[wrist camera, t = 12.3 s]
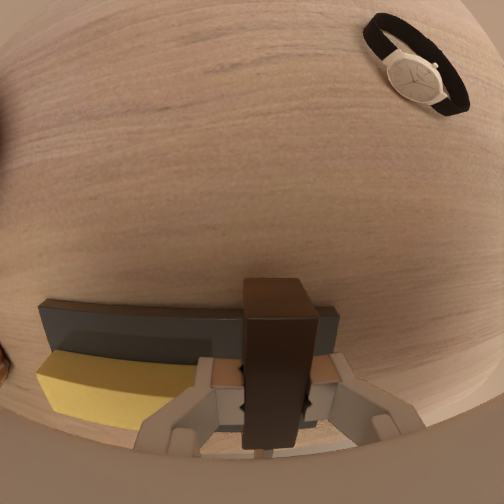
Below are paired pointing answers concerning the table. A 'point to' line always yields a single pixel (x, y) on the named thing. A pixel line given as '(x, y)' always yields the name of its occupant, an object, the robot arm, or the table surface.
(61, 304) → the butter dish
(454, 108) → the watch
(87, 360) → the butter block
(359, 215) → the table surface
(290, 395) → the dark brown boxy part
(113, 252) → the table surface
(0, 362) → the ornament
